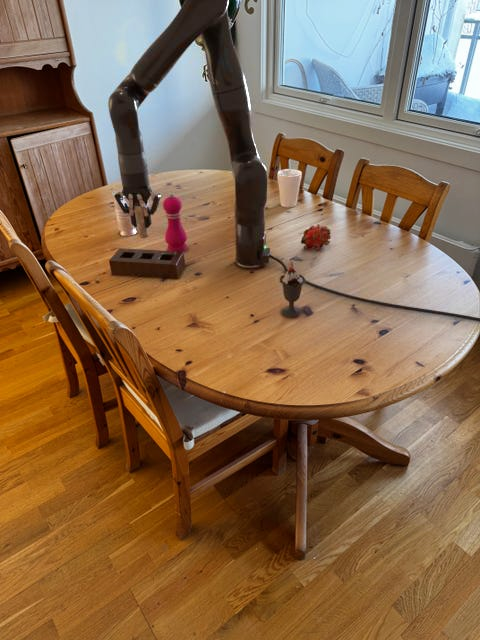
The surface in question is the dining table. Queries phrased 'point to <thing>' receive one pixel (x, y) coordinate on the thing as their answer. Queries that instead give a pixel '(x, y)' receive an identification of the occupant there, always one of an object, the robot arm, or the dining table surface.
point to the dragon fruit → (316, 237)
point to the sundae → (292, 290)
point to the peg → (140, 220)
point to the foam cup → (289, 186)
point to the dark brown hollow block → (147, 263)
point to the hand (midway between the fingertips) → (142, 226)
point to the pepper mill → (174, 224)
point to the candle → (123, 218)
